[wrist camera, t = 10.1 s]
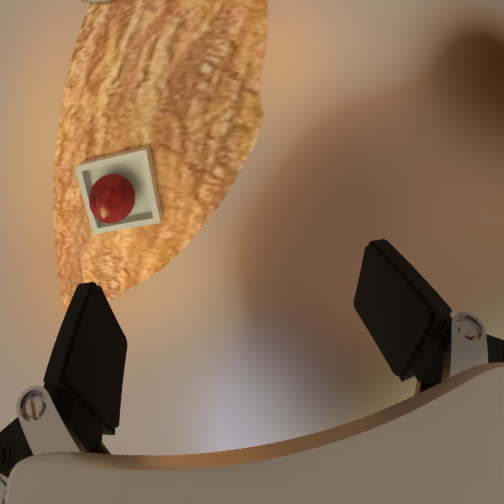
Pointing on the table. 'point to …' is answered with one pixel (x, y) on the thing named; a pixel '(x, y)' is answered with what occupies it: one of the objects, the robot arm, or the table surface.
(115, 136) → the table surface
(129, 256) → the table surface
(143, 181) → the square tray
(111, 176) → the onion
